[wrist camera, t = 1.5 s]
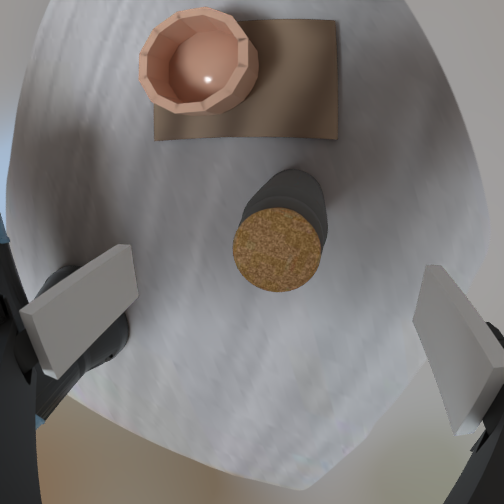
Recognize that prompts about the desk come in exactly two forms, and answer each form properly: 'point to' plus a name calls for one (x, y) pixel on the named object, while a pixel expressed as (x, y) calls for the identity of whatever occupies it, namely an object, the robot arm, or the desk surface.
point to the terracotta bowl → (198, 63)
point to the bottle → (282, 233)
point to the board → (275, 88)
